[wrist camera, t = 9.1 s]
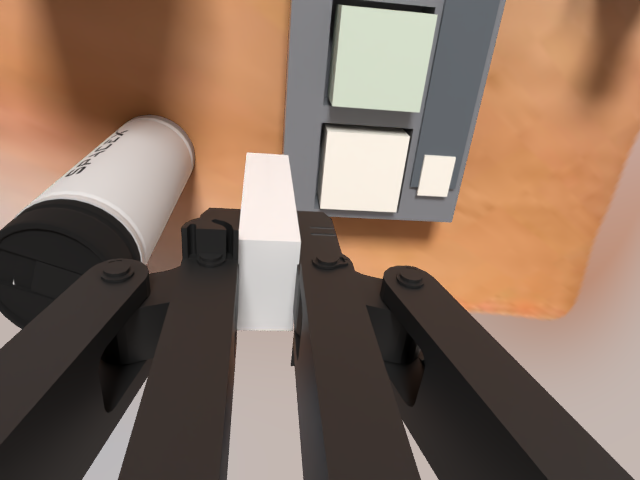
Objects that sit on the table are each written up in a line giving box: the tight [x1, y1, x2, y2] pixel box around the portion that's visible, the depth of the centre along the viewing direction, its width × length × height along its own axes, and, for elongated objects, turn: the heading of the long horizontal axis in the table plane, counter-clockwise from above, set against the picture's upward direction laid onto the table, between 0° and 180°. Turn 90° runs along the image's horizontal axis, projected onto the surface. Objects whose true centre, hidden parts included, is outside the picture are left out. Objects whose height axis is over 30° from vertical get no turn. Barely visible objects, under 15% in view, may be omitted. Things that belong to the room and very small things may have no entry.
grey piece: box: [282, 0, 506, 222], centre depth 33 cm, size 14×24×4 cm, turn 175°
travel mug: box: [0, 115, 195, 329], centre depth 29 cm, size 6×7×20 cm
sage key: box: [328, 4, 438, 113], centre depth 31 cm, size 6×6×3 cm
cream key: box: [317, 123, 410, 212], centre depth 36 cm, size 6×6×3 cm
